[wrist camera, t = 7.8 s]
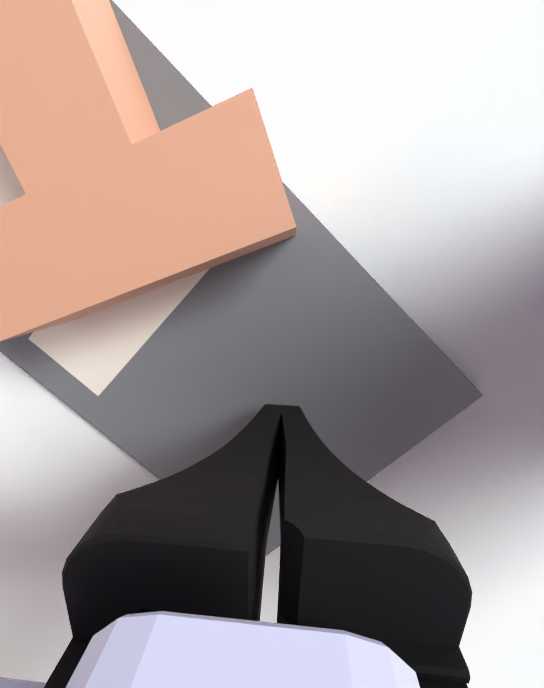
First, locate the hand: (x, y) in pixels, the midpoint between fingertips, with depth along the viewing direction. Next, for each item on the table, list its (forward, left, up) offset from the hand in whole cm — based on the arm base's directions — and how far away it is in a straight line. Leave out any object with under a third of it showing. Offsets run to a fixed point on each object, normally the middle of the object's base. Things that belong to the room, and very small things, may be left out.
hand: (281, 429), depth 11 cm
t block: (+10, -3, -1) cm, 10 cm away
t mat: (+6, 0, -1) cm, 6 cm away
